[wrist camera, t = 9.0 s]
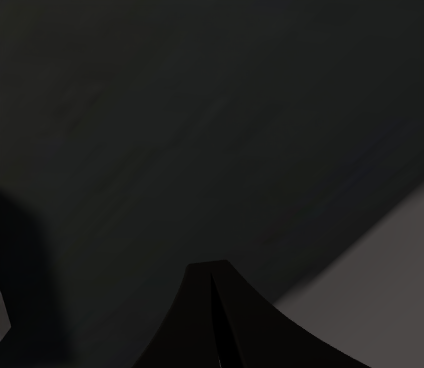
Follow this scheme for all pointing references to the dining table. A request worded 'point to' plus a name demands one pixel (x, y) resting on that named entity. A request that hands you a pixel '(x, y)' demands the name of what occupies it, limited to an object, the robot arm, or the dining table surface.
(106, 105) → the dining table surface
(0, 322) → the bridge
